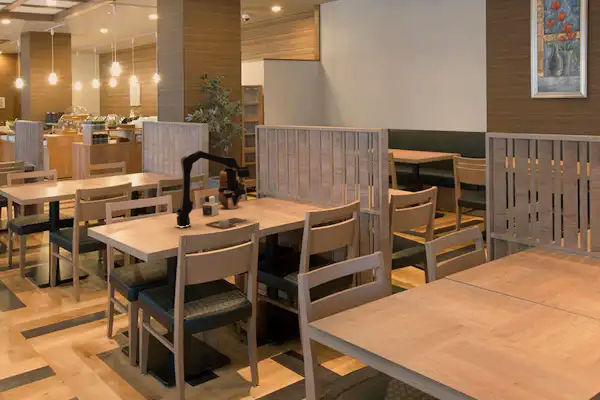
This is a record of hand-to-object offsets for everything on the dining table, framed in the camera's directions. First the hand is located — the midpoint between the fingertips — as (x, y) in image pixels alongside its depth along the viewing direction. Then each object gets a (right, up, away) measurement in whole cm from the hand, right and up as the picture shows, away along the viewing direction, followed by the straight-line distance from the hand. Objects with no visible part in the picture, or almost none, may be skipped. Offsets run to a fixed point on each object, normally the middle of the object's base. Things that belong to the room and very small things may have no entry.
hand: (232, 205), depth 349 cm
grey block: (-3, -12, -13) cm, 18 cm away
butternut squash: (-7, -2, +43) cm, 44 cm away
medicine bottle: (-16, -6, +22) cm, 28 cm away
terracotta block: (0, -1, 0) cm, 2 cm away
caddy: (-6, -12, -10) cm, 16 cm away
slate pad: (0, -9, +2) cm, 9 cm away
